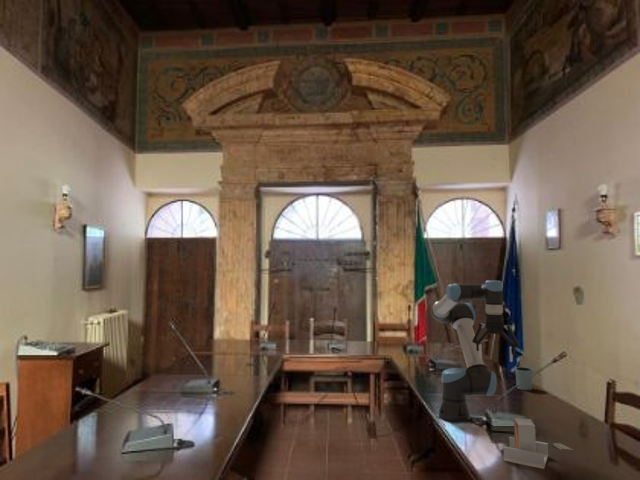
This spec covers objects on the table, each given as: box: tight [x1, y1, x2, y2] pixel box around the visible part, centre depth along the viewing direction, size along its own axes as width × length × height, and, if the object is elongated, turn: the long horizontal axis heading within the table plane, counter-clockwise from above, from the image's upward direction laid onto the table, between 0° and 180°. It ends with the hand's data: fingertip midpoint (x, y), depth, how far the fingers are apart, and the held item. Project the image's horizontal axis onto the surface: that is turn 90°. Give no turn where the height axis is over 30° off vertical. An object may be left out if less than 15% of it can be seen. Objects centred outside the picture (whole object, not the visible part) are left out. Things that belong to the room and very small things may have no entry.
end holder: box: [502, 436, 549, 470], centre depth 178 cm, size 14×13×5 cm
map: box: [551, 442, 574, 451], centre depth 183 cm, size 5×20×1 cm, turn 23°
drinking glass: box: [514, 366, 534, 391], centre depth 282 cm, size 10×10×12 cm
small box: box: [513, 417, 537, 452], centre depth 178 cm, size 8×6×13 cm
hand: (495, 359), depth 211 cm, fingers open, 13 cm apart
